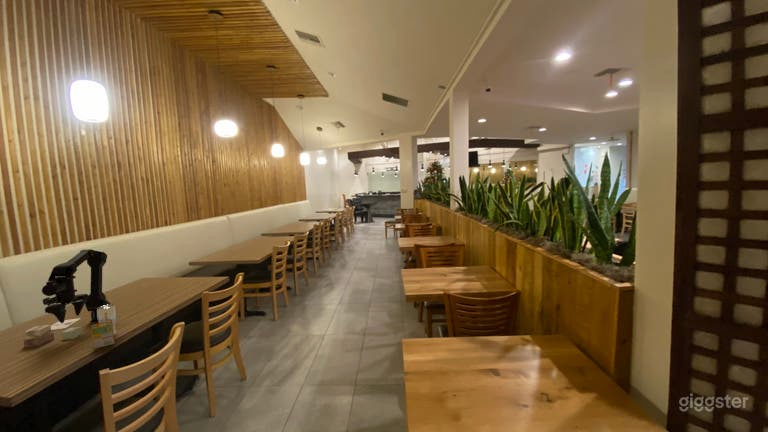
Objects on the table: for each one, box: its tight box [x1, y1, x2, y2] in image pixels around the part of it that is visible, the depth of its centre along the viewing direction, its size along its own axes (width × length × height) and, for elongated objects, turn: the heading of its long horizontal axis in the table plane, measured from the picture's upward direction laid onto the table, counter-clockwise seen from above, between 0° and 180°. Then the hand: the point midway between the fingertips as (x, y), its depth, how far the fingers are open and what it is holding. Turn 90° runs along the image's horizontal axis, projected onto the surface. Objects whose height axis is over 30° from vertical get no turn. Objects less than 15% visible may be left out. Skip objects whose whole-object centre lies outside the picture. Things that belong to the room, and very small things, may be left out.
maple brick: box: [24, 324, 52, 340], centre depth 150 cm, size 6×6×4 cm
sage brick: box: [61, 326, 83, 341], centre depth 155 cm, size 5×5×4 cm
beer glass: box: [97, 303, 118, 336], centre depth 156 cm, size 7×7×15 cm
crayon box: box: [91, 321, 116, 350], centre depth 145 cm, size 7×3×12 cm, turn 129°
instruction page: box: [50, 317, 82, 331], centre depth 171 cm, size 10×14×1 cm
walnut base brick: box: [23, 332, 55, 348], centre depth 150 cm, size 7×7×4 cm
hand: (70, 319), depth 155 cm, fingers open, 9 cm apart
